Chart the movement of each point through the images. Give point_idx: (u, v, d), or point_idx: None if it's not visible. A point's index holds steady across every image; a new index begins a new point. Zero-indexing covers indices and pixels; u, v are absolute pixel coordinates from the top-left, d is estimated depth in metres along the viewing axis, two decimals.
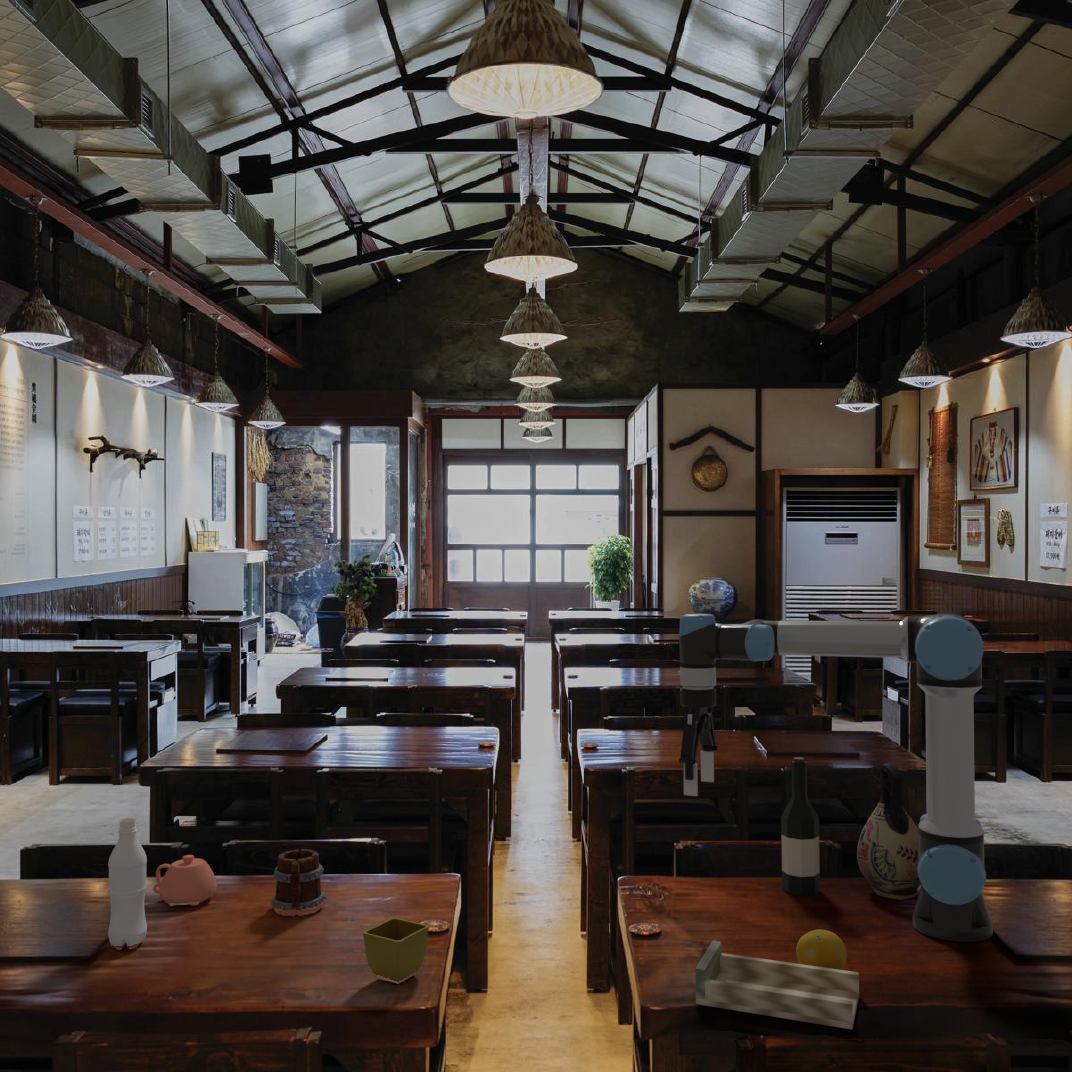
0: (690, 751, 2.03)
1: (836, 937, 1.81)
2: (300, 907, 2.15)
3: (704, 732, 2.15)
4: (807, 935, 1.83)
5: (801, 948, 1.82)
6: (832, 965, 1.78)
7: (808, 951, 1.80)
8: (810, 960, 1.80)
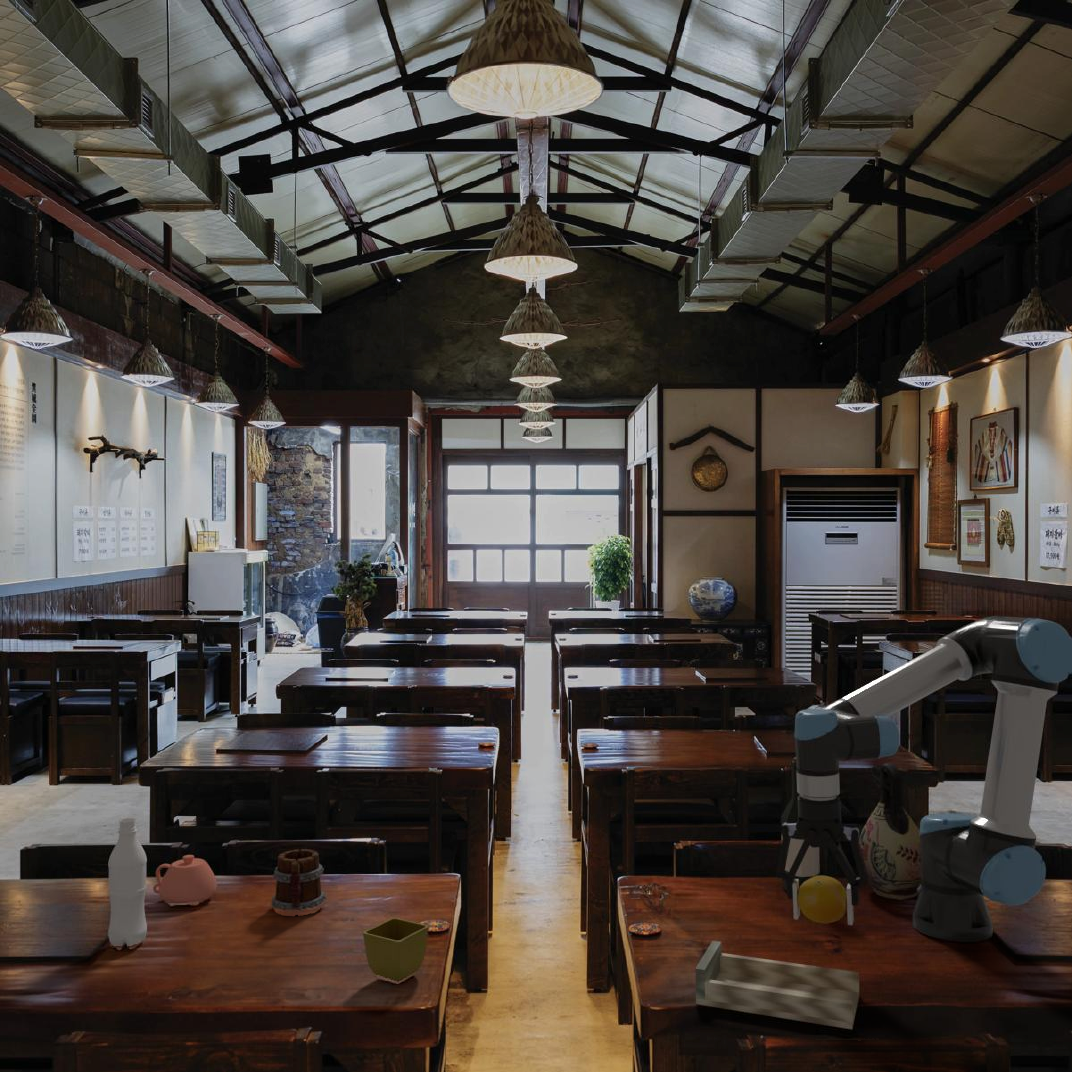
0: None
1: (837, 882, 1.82)
2: (300, 907, 2.15)
3: None
4: (808, 881, 1.83)
5: (802, 894, 1.82)
6: (834, 910, 1.79)
7: (810, 896, 1.80)
8: (811, 905, 1.80)
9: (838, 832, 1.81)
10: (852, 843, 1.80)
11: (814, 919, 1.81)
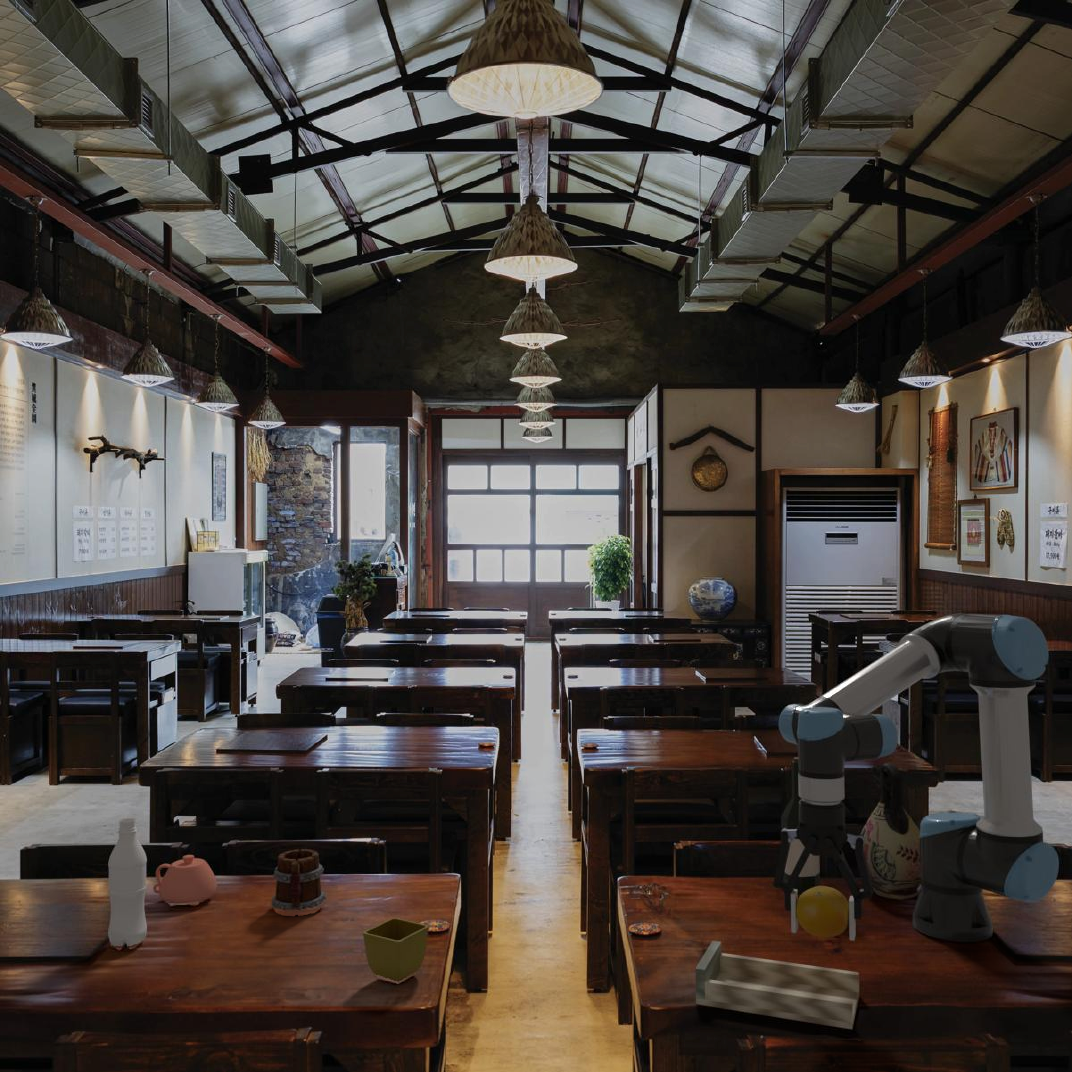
0: None
1: (839, 893, 1.69)
2: (300, 907, 2.15)
3: None
4: (808, 891, 1.70)
5: (801, 905, 1.69)
6: (835, 923, 1.66)
7: (809, 908, 1.68)
8: (811, 918, 1.67)
9: (841, 840, 1.68)
10: (856, 852, 1.67)
11: (813, 932, 1.68)
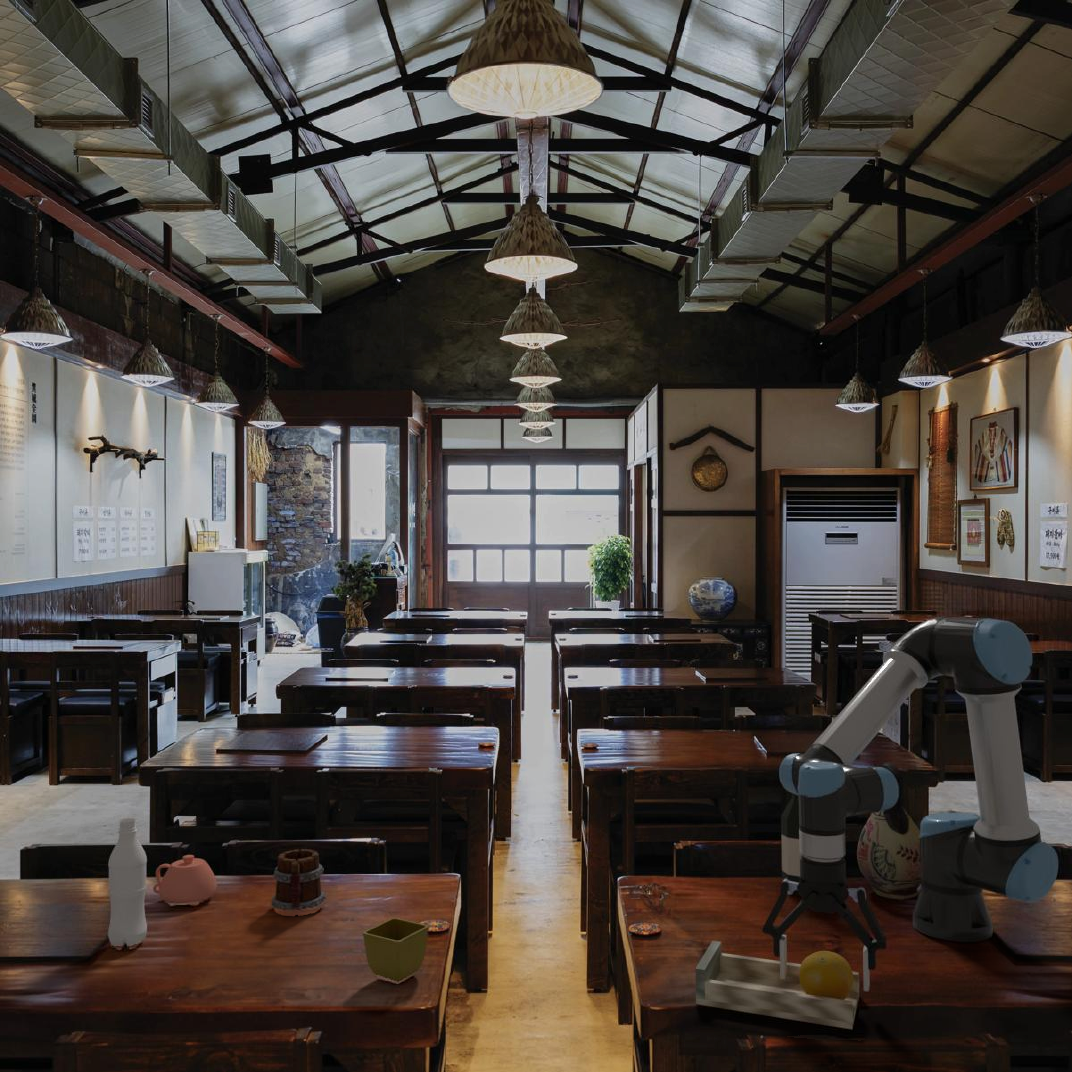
0: None
1: (842, 959, 1.69)
2: (300, 907, 2.15)
3: None
4: (810, 957, 1.70)
5: (804, 972, 1.69)
6: (839, 990, 1.65)
7: (813, 975, 1.67)
8: (815, 985, 1.67)
9: (843, 896, 1.68)
10: (860, 905, 1.67)
11: None
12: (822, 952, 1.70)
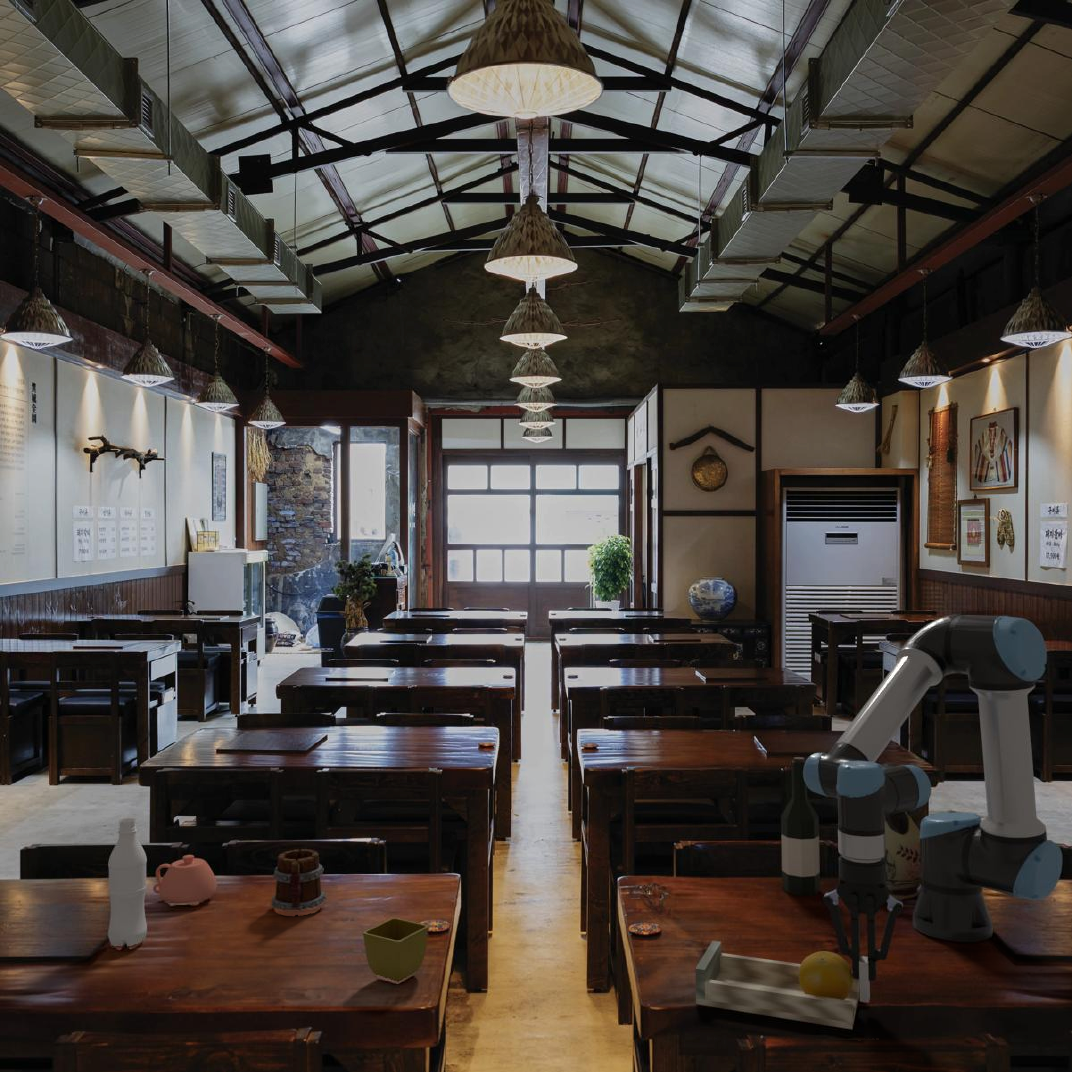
0: (838, 941, 1.68)
1: (841, 960, 1.69)
2: (300, 907, 2.15)
3: None
4: (810, 958, 1.70)
5: (804, 972, 1.69)
6: (839, 991, 1.65)
7: (813, 975, 1.67)
8: (815, 985, 1.67)
9: (882, 898, 1.65)
10: (891, 915, 1.65)
11: None
12: (822, 952, 1.70)
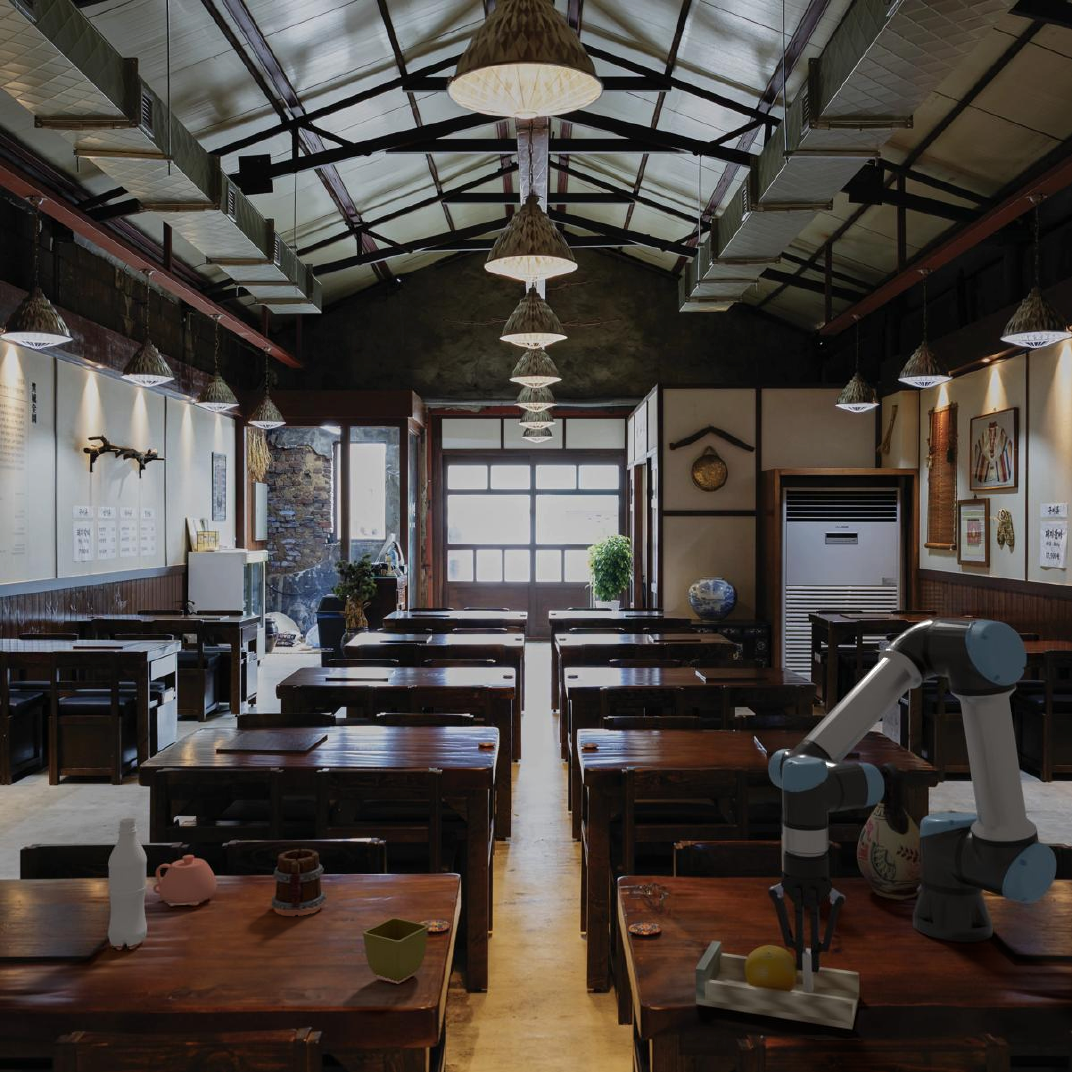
0: None
1: (786, 953, 1.72)
2: (300, 907, 2.15)
3: None
4: (756, 952, 1.72)
5: (751, 966, 1.71)
6: (785, 983, 1.68)
7: (759, 970, 1.70)
8: (762, 979, 1.69)
9: (824, 891, 1.69)
10: (833, 908, 1.68)
11: None
12: (767, 947, 1.73)
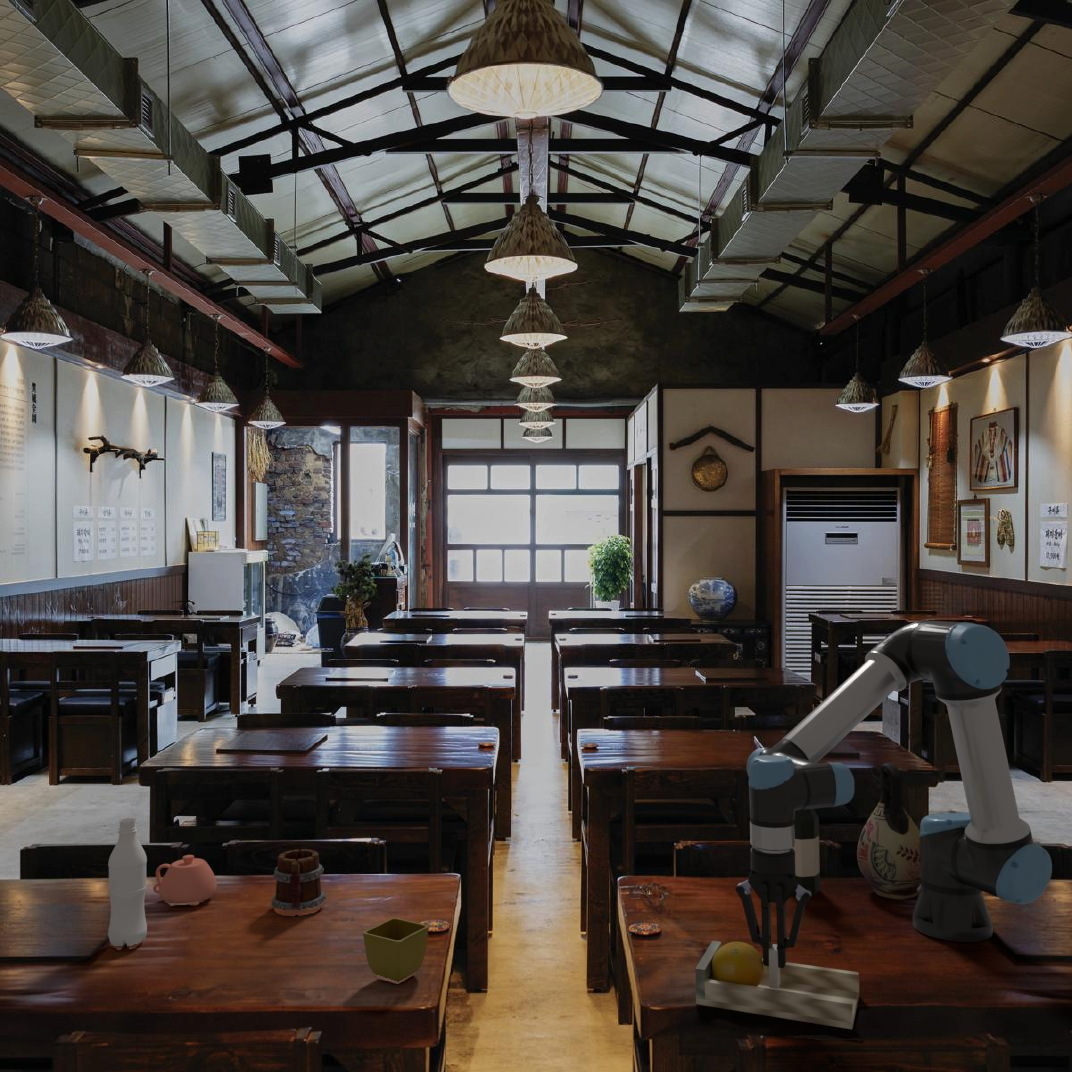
0: None
1: (753, 949, 1.74)
2: (300, 907, 2.15)
3: None
4: (724, 949, 1.74)
5: (718, 963, 1.72)
6: (752, 979, 1.70)
7: (727, 966, 1.71)
8: (729, 976, 1.71)
9: (790, 887, 1.71)
10: (799, 904, 1.70)
11: None
12: (734, 943, 1.75)
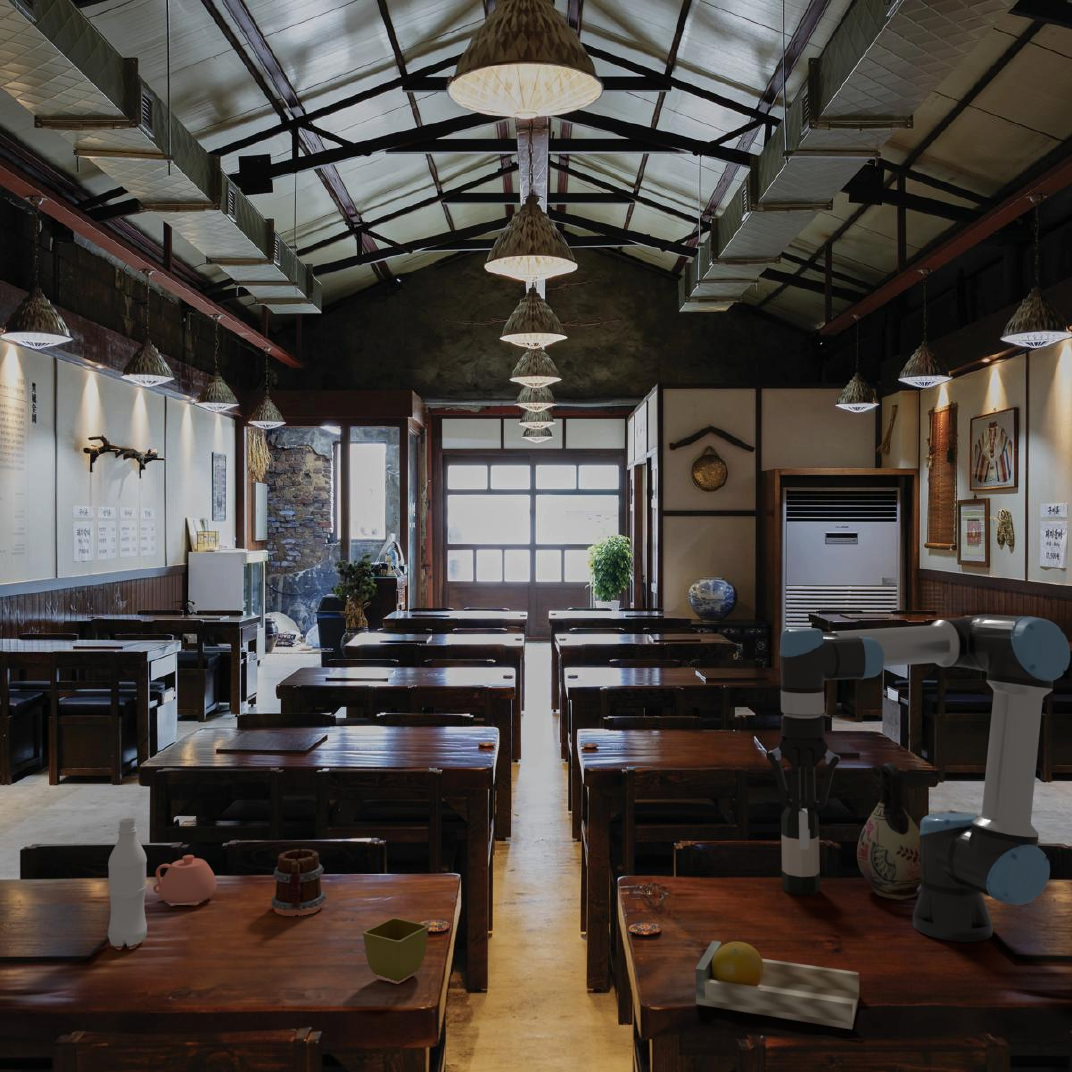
0: None
1: (753, 949, 1.74)
2: (300, 907, 2.15)
3: None
4: (723, 949, 1.74)
5: (718, 963, 1.72)
6: (752, 979, 1.70)
7: (727, 966, 1.71)
8: (729, 976, 1.71)
9: (820, 752, 1.77)
10: (828, 767, 1.77)
11: None
12: (734, 943, 1.75)
